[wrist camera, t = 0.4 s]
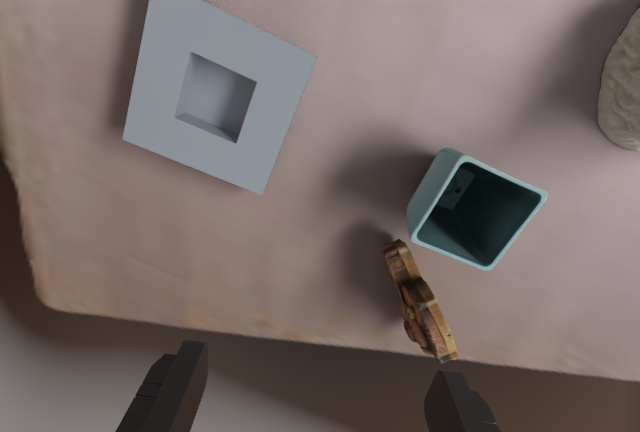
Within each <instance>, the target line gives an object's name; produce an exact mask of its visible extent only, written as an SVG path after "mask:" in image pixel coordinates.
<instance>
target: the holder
mask: <svg viewBox="0 0 640 432" xmlns="http://www.w3.org/2000/svg"><path fill="white" fill-rule="evenodd" d="M316 59H317V56H315V55H313V54H311V53H309V52H307V51H305V50H303V49H301V48H299V47H297V46H295V45H293V44H291V43H288V42H286V41H284V40H282V39H280V38H278V37H276V36H274V35H272V34H270V33H268V32H266V31H264V30H262V29H260V28H258V27H256V26H254V25H252V24H250V23H248V22H246V21H244V20H242V19H240V18H237V17H235V16H233V15H231V14H229V13H227V12H225V11H223V10H221V9H219V8H217V7H215V6H213V5H211V4H209V3H207V2H205V1H203V0H149V4H148V9H147V14H146V19H145V25H144V30H143V35H142V40H141V45H140V50H139V56H138V61H137V66H136V71H135V76H134V82H133V87H132V92H131V97H130V102H129V107H128V113H127V118H126V123H125V128H124V133H123V138H122V140H125V141H127V142H130V143H132V144H135V145H137V146H140V147H142V148H145V149H147V150H150V151H152V152H155V153H157V154H160V155H162V156H165V157H167V158H169V159H172V160H174V161H177V162H179V163H182V164H184V165H187V166H189V167H192V168H194V169H197V170H199V171H202V172H204V173H207V174H209V175H212V176H214V177H217V178H219V179H222V180H224V181H227V182H229V183H232V184H234V185H237V186H239V187H242V188H244V189H247V190H249V191H252V192H254V193H257V194H259V195H262V193H263V191H264V189H265V186H266V184H267V182H268V179H269V177H270V174H271V172H272V169H273V167H274V164H275V161H276V159H277V156H278V154H279V151H280V149H281V146H282V144H283V141H284V139H285V136H286V134H287V131H288V129H289V126H290V124H291V121H292V119H293V116H294V114H295V111H296V109H297V106H298V104H299V101H300V99H301V96H302V94H303V91H304V89H305V86H306V84H307V81H308V79H309V76H310V74H311V71H312V69H313V66H314V64H315V61H316Z"/></svg>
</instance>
